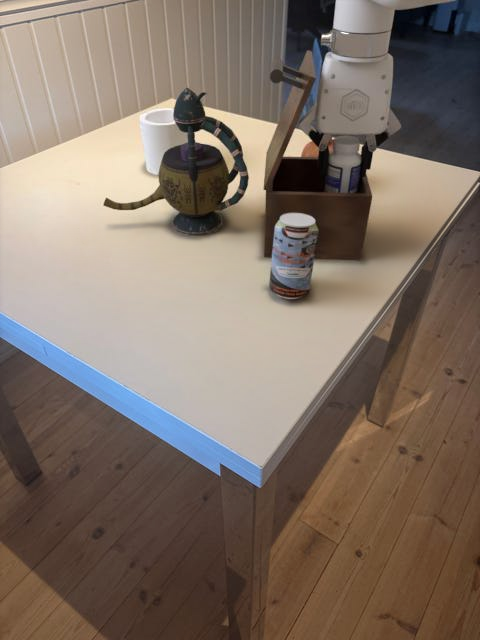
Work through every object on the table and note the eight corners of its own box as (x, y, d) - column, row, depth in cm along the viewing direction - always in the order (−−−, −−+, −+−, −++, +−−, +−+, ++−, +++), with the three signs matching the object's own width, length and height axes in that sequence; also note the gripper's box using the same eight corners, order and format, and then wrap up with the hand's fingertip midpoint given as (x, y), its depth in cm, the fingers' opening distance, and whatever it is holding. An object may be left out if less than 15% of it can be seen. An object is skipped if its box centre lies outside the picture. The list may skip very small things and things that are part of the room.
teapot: (249, 237, 85) (250, 97, 70) (104, 245, 84) (72, 104, 68) (242, 204, 94) (241, 74, 79) (112, 211, 93) (85, 79, 77)
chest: (352, 217, 90) (362, 157, 82) (360, 260, 79) (372, 196, 72) (266, 215, 91) (268, 156, 83) (264, 257, 80) (265, 193, 73)
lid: (312, 51, 72) (278, 37, 71) (316, 78, 62) (276, 62, 61) (270, 154, 83) (241, 143, 82) (268, 191, 73) (234, 179, 72)
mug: (153, 150, 114) (147, 103, 107) (196, 150, 114) (193, 103, 107) (142, 175, 104) (134, 125, 97) (189, 176, 104) (185, 125, 97)
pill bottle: (352, 186, 82) (360, 133, 76) (360, 201, 78) (369, 146, 72) (320, 187, 81) (326, 134, 75) (327, 202, 77) (333, 147, 72)
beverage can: (265, 302, 72) (267, 231, 64) (274, 273, 77) (277, 204, 69) (307, 308, 70) (315, 236, 62) (314, 278, 76) (322, 209, 68)
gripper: (296, 50, 63) (288, 182, 75) (431, 50, 62) (402, 184, 74) (295, 37, 68) (288, 162, 80) (419, 37, 67) (394, 164, 79)
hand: (342, 171), depth 77 cm, fingers closed on pill bottle, 5 cm apart
